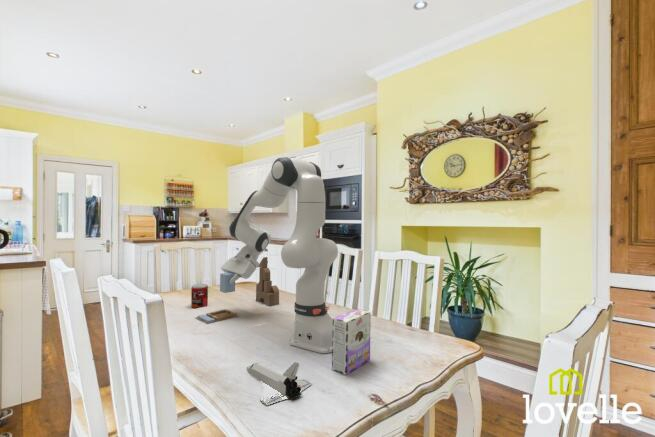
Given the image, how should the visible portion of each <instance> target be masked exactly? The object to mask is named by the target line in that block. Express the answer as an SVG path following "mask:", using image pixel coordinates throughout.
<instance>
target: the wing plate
mask: <svg viewBox="0 0 655 437" xmlns="http://www.w3.org/2000/svg"><path fill="white" fill-rule="evenodd" d="M197 318H199V319H201V320H203V321H205V322H207V323H211V322H215V319H213V318H211V317H208V316H206V314H199V315H197ZM215 323H216V322H215ZM211 324H212V323H211Z"/></svg>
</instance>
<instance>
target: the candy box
mask: <svg viewBox="0 0 655 437" xmlns="http://www.w3.org/2000/svg"><path fill="white" fill-rule="evenodd" d="M332 319H333V338H332V352H331V370H333V371H334V372H337V373H339V372H340V373H339V374H341V373H342V375H344V374H345V375H344V376H347V375H349V374H351V373H352V372H353V370H354V371H355V370H356V369H358V368H360V367H361V366H363V365H364V364H366V363H368V362H369V361H371V311H369V310H363V309H359V308H355V309H354V310H351V311H348V312H345V313H343V314H341V315H339V316H335V317H332ZM348 373H349V374H348ZM346 374H347V375H346Z"/></svg>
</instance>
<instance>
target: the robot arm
mask: <svg viewBox="0 0 655 437" xmlns="http://www.w3.org/2000/svg"><path fill="white" fill-rule="evenodd" d="M291 187H294V188H295V190H296V194H297V195H296V221H295V225H294V229H293V231H292V234H291V235H290V238H289V239H288V240H287V241H286V242H285V243H284V244H283V245H282V248H281V252H280V257H281V261H282V263H283V264H284V265H285V266H286V267H287V268H290V269H297V270H298V269H299V270H300V269H304V271H303V273H302V275H300V277H299V278H298V279H297V281H296V284H295V302H294V306H293V307H294V313H295V315H294V319H293V325H292V332H291V337H290V341H289V344H290V345H291V346H294V347H297V348H300V349H304V350H307V351H311V352H315V353H318V354H330V353H332V338H333V317H331V316H330V315H329V313H328V310H329V309H330V306H329V305H328V306H327V305H326V302H325V290H326V289H325V287H326V279H327V276H328V273H329V270H330V268H331V266H332V264H333V263H334V262H335V261H336V259H337V257H338V255H339V254H338V253H339V250H338V249H339V248H338V245H337V244H336V242H335V241H334V240H332V239H328V238H323V237H318V238H317V234H318V232H319V230H320V229H321V228H322V227H323V226H324V225H325V223H326V191H325V184H324V180H323V178H322V171H321V168H320V167H319V165H317V164H315V163H314V162H311V161H306V160H303V159H300V158H299V159H298V158H292V157H285V156H284V157H278V158H277V159H275V160H274V162H273V164H272V166H271V169H270V170H269V172H268V174H267V176H266V177H265V180H264V182H263V185H262V186H261V188H259V190H254V191H253V192H252V193H251V194H250V195H249V196H248V198H247V200H246V201H245V202H244V204H243V206H242V207H241V208H240V210H239V212H238V214H237V215H236V216H235V218H234V219H233V220H232V222H231V223H230V225H229V228H228V230H229V234H230V236H231V237H232V238H234V239H237V240H239V241H240V242H241V243H243V244H244V246H243V247H242V248H241V249H240V250H239V251H238V253H237V254H235V256H233V257H232V256H231V257H230V258H229V259H228V258H227V260H226V261H225V262H224V263H223V264H222V266H221V267H220V269H221V271H223V272H224V273H229V272H231V273H234V274H235V275H234V277H233V278H230V279H229V281H228V282H229V283H230V284H233V282H234V281H235V282H236V281H237V280H239V279H240V278H242V279H245V280H247V279H249V278H250V277H251V276H252V275H253V273H254V272H255V271H256V270H257V269H258V268H260V267H259V265H260V262H259V261H258V259H259V257H260V255H261V254H262V253H263V252H264V251H265V250H266V249H267V247H268V246H269V244H270V242H271V240H272V236H271V233H269V231H268V230H266V229H262V228H260V227H259V226H257V225H256V224H254V223H253V222H251V221H249V217H250V216H251V214H252V212H253V211H254V209H255V208H256V207H260V208H265V209H266V208H267V209H275V208H278V207H280V206H282V204H283V203H284V201H285V200H286V198H287V195H288V193H289V190H290V189H291Z"/></svg>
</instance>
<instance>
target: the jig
mask: <svg viewBox="0 0 655 437" xmlns="http://www.w3.org/2000/svg"><path fill="white" fill-rule="evenodd" d="M205 315H206V316H208V317H211V318H213V319H215V322H211V323H207V322H205V321H203V320H201V319H199V318H197V317H194V319H195V320H196V321H197V320H198V322H202V323H203V324H205V325H211V324H214V323H219V322H223V321H227V320H231V319H234V318H239V317H240V316H241V315H238V313H236V312H235V311H231V310H228V309H221V310H217V311H212V312H208V313H205Z"/></svg>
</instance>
